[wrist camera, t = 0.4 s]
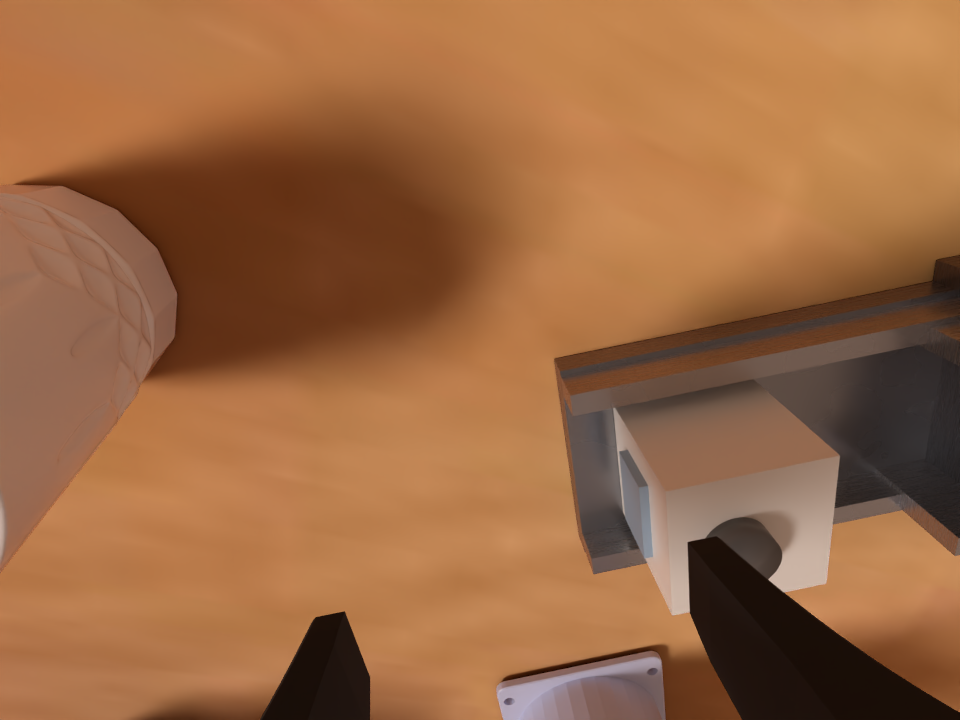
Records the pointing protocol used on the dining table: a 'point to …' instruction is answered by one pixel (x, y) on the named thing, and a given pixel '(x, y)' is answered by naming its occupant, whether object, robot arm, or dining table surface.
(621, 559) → the module housing
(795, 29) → the dining table surface
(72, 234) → the white cup
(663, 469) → the block
